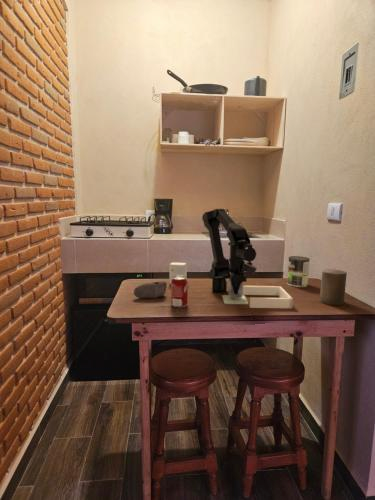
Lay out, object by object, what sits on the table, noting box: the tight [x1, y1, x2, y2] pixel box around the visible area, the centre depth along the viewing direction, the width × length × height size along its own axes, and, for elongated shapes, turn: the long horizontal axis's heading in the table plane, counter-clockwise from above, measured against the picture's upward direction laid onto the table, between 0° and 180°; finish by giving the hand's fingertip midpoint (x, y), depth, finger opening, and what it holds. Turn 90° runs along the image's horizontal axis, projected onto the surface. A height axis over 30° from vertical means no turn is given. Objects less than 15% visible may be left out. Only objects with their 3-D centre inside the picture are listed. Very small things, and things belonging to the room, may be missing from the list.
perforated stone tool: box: [133, 281, 168, 299], centre depth 139 cm, size 15×5×7 cm, turn 105°
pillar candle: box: [319, 268, 348, 306], centre depth 135 cm, size 10×10×15 cm
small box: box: [168, 261, 188, 285], centre depth 162 cm, size 8×6×10 cm
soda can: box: [170, 276, 189, 309], centre depth 128 cm, size 7×7×12 cm
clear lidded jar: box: [286, 255, 311, 288], centre depth 162 cm, size 10×10×14 cm
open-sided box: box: [242, 285, 294, 309], centre depth 137 cm, size 17×18×4 cm
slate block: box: [228, 278, 243, 298], centre depth 136 cm, size 5×5×7 cm
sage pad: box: [222, 294, 249, 305], centre depth 137 cm, size 10×10×1 cm
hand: (235, 292), depth 136 cm, fingers closed on slate block, 5 cm apart
